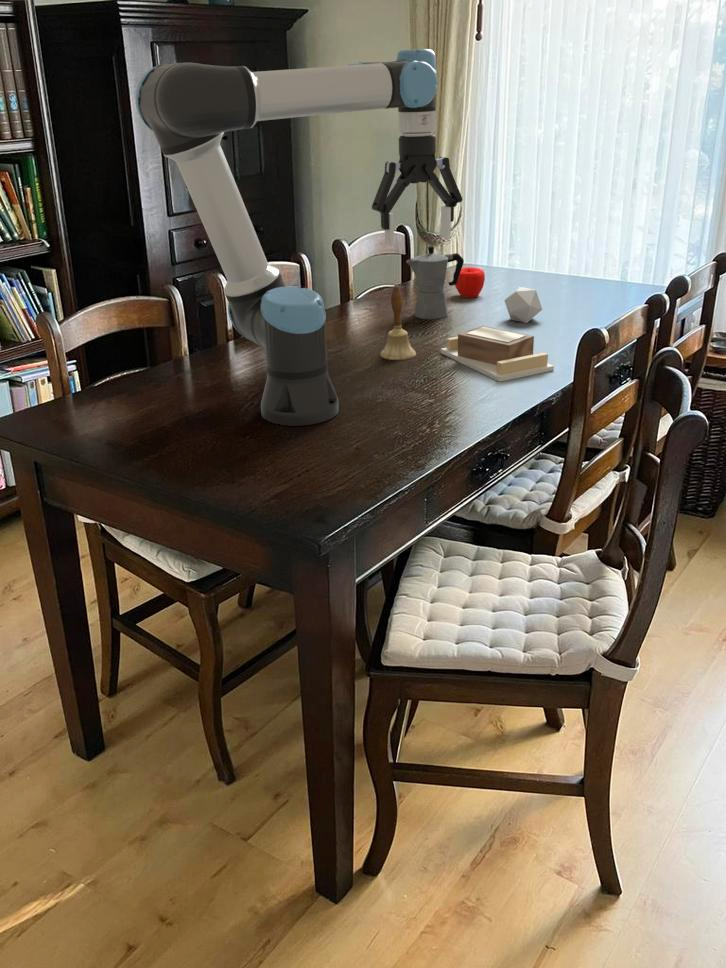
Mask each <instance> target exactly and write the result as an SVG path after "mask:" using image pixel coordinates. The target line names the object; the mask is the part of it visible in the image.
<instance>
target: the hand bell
mask: <svg viewBox="0 0 726 968" xmlns="http://www.w3.org/2000/svg"><path fill="white" fill-rule="evenodd" d="M390 304H391V309H392V312H393V329H392V330H390V331H388V334H387V340H386V341H387V342H386V344H385V347H384V349H383V350H381V351H380V354H379V355H380V357H381V358H382V359H385V360H390V361H405V360H410V359H413V358H415V357H416V356H417V351H415V350H414V348H413V347H412V346H411V343H410V340H409V334H408V331H406V330H405V329H403V328H402V317H401V312H402V310H403V296H402V292H401V289H400V286H399V285H393V288H392V291H391V296H390Z"/></svg>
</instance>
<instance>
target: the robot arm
mask: <svg viewBox="0 0 726 968" xmlns="http://www.w3.org/2000/svg"><path fill="white" fill-rule="evenodd" d="M396 55H397V56H396V61H376V62H375V61H373V62H370V61H369V62H368V61H366V62H362V61H361V62H360V61H359V62H358V63H357V62H354V63H349V64H347V65H338V66H337V65H333V66H322V67H307V68H292V69H291V68H290V69H277V70H265V71H264V70H262V71H251V70H250V69H249V68H248V67H247V66H245V65H237V66H225V65H213V64H212V65H211V64H202V63H197V62H196V63H195V62H190V61H189V62H172V61H170V62H169V61H167V62H164V63H161V64H158V65H156V66H153V67H152V68H149V70H147V71H146V72H145V73H144V74H143V75H142V77H141V78H140V80H139V81H138V84H137V87H136V89H135V90H136V91H135V107H136V110H137V113H138V116H139V117H140V119H141V120H142V122H143V123H144V125H145V126H146V127H147V128H148V129H149V130H151V131H152V132H153V134H154V137H155V138H156V141H157V143H158V146H159V147H160V150H161V152H162V154H163V156H164V157H165V158H168V159H170V160H172V161H174V162H175V163H176V166H177V167H178V170H179V173H180V174H181V176H182V179H183V181H184V183H185V185H186V188H187V191H188V193H189V195H190V198H191V200H192V202H193V205H194V206H195V208H196V209H195V210H196V212H197V214H198V215H199V218H200V220H201V223H202V225H203V227H204V230H205V232H206V234H207V236H208V239H209V241H210V243H211V247H212V248H213V251H214V253H215V255H216V257H217V260H218V262H219V264H220V266H221V269H222V271H223V273H224V275H225V278H226V281H227V282H226V283H225V286H224V289H223V292H224V293H223V294H224V295H225V298H226V300H227V302H228V303H227V313H228V314H227V315H228V318H229V321H230V322H231V324H232V326H233V327H234V329H235V330H236V331H237V333H239V335H241V336H242V337H243V338H245V339H247V340H249V341H250V342H253V343H254V344H256V345H258V346H260V347H261V348H263V349H264V352H265V365H266V376H267V377H266V381H265V385H264V390H263V394H262V397H261V401H260V414H261V417H262V418H263V420H265V419H266V420H267V421H266V420H265V421H266V422H268V421H269V423H271V422H272V423H271V424H274V423H275V425H278V424H280V426H286V425H287V427H289V426H290V427H298V426H299V427H300V426H309V425H310V426H311V425H316V424H320V423H324V422H326V421H327V422H328V421H329V420H331V419H333V418H334V417H336V416H337V415H338V413H339V410H340V409H339V407H340V405H339V397H338V395H337V393H336V390H335V387H334V385H333V382H332V381H331V380H332V379H331V378H330V377H331V376H330V375H329V371H328V370H329V369H328V354H327V353H328V352H327V351H328V350H327V347H328V346H327V330H326V329H327V328H326V320H327V318H326V316H327V315H326V311H325V305H324V300H323V298H322V296H321V295H320V294H319V293H317V292H316V291H315V290H312V289H310V288H307V287H303V288H302V287H300V286H293V285H291V286H286V284H285V282H284V280H283V279H284V278H283V277H282V274H281V271H280V270H279V268H278V267H276V266H273V265H272V264H269V263H268V260H267V258H266V255H265V252H264V250H263V248H262V245H261V243H260V240H259V238H258V235H257V232H256V230H255V227H254V225H253V222H252V220H251V218H250V216H249V213H248V210H247V208H246V206H245V203H244V201H243V197H242V195H241V193H240V190H239V188H238V185H237V183H236V181H235V178H234V175H233V173H232V171H231V168H230V165H229V163H228V161H227V159H226V156H225V153H224V151H223V149H222V146H221V140H222V139H223V137H224V134H225V133H228V132H230V131H231V132H232V131H233V132H234V131H238V130H246V129H253V127H254V126H255V125H256V123H257V122H261V121H262V122H263V121H270V120H281V119H291V118H300V117H301V118H303V117H311V116H323V115H331V114H344V113H351V112H352V113H353V112H363V111H371V110H372V111H374V110H387V109H397V111H398V114H397V115H398V116H397V117H398V124H397V126H398V127H397V128H398V129H397V131H398V133H399V134H400V136H399V137H398V155H399V160H398V162H393V161H386V162H385V163H384V174H383V176H382V178H381V181H380V184H379V185H378V189H377V191H376V194H375V197H374V200H373V202H372V204H371V209H372V210H373V211H376V212H379V213H380V227H381V230H384V245H386V246H389V247H394V246H395V226H394V225H395V220H394V218H395V217H394V213H393V212H391V211H392V210H393V208H394V206H395V205H396V203H397V202H398V201H399V199H400V197H401V196H402V194H403V193H404V191H405V189H406V188H407V187H408V186H409V185H410V184H412V185H413V184H418V183H424V184H425V183H428V184H429V185H430V187H431V188H432V189H433V191H434V192H435V193H436V194H437V196H438V197H439V199H440V200H441V201H442V202H443V203H444V205H441V207H440V208H441V209H440V217H441V218H440V234H441V235H440V238H441V239H442V238H443V239H445V240H451V236H452V235H451V234H452V233H451V230H452V229H451V228H452V225H451V224H452V223H453V222H454V219H455V208H456V207H457V205H458V203H462V202H463V196H462V194H461V192H460V190H459V187H458V185H457V182H456V179H455V177H454V175H453V172H452V170H451V166H450V165H451V164H450V158H449V157H446V156H439V157H438V158H436V152H437V136H436V135H435V134H434V133H435V132H436V130H437V126H436V125H437V123H436V119H437V118H436V117H437V115H436V112H437V111H436V109H437V101H436V100H437V90H438V77H437V75H438V73H437V61H436V54H435V52H434V51H433V49H430V48H423V49H421V48H420V49H402V50H399V51H398V52H397V54H396ZM436 168H437V169H438V170H439V173H440V175H441V177H442V179H443V183H444V184H445V186H446V188H445V186H444V185H443V184H442V182H441V180H440V179H439V177H438V176H437V174H436V173H435V172H434V171H435V170H436ZM398 172H400V174H399V176H398V178H397V179H396V183H395V184H394V185H393V183H394V179H395V177H396V174H397V173H398ZM392 185H393V187H392ZM391 188H392V189H391Z"/></svg>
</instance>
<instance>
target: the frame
mask: <svg viewBox="0 0 726 968" xmlns="http://www.w3.org/2000/svg"><path fill="white" fill-rule="evenodd" d="M457 336H458V356H460V357H464V358H469V359H473V360H477V361H481V362H485V363H490V364H494V365H497V362H498V361H503V360H508V359H513V358H518V357H523V356H528V355H534V342H535V335H532V334H531V335H530V334H525V333H520V332H517V331H516V332H515V331H512V330H507V329H502V328H497V327H491V326H487V325H481V326H480V325H479V326H478V327H477V326H476V327H475V328H472V329H468V330H466V331H463V332H460V333H458V334H457Z"/></svg>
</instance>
